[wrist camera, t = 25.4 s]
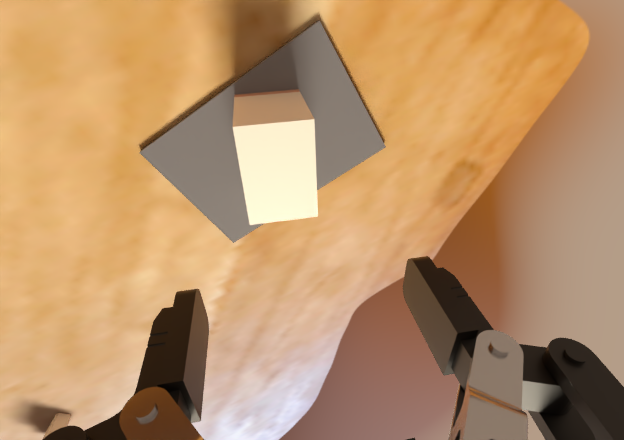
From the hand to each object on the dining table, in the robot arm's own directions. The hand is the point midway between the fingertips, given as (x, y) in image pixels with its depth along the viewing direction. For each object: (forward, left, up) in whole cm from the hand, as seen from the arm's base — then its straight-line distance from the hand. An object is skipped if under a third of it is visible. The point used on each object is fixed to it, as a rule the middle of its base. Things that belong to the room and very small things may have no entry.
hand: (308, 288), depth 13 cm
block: (+2, -1, -14) cm, 14 cm away
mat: (+3, -2, -22) cm, 22 cm away
